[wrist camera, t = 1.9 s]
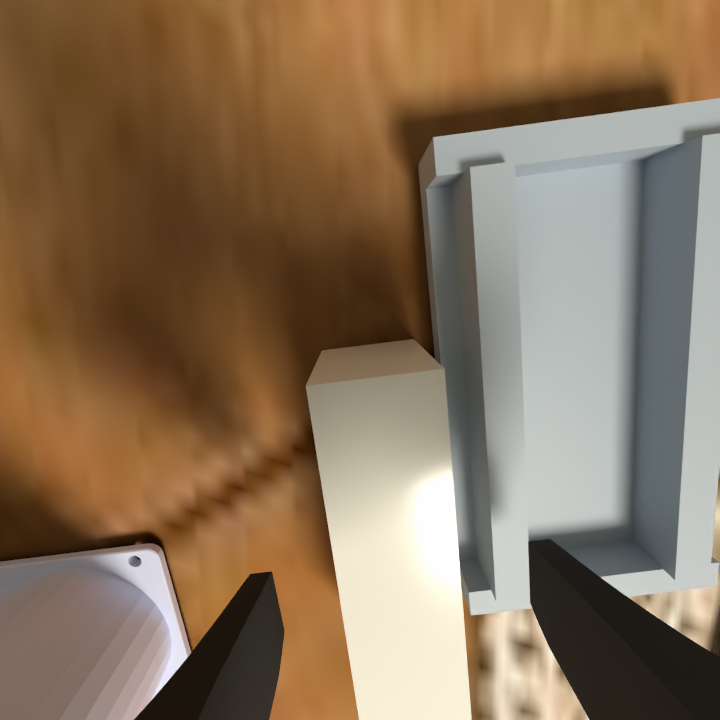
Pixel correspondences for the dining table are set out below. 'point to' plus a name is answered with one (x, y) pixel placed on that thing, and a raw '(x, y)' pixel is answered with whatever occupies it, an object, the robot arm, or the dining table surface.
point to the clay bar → (393, 527)
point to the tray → (580, 345)
